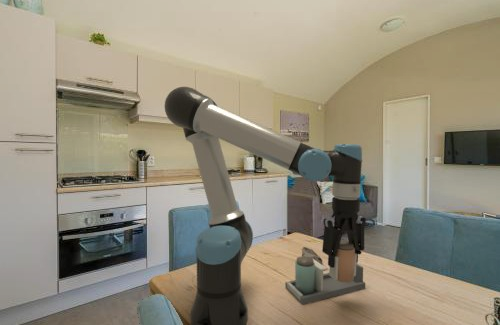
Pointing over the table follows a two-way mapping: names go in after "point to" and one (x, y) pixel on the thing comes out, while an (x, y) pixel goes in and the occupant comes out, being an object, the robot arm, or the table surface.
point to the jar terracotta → (346, 261)
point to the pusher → (319, 276)
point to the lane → (329, 287)
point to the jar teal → (305, 275)
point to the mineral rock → (311, 254)
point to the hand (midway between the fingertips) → (342, 275)
